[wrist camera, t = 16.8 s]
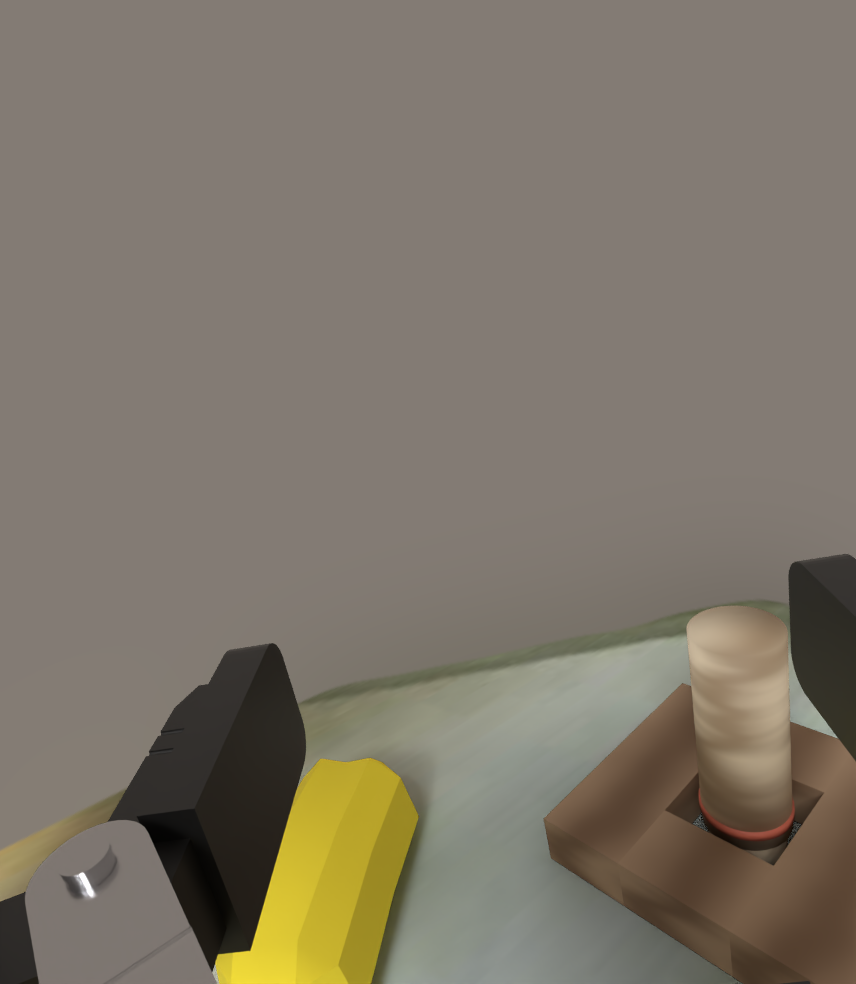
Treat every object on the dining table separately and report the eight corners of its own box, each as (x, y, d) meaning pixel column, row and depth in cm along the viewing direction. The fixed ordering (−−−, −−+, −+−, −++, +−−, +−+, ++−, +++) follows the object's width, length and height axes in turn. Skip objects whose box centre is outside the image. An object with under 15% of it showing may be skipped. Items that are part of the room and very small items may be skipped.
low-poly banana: (433, 800, 49) (328, 800, 51) (412, 719, 46) (304, 722, 49) (352, 1102, 32) (203, 1084, 34) (315, 999, 30) (158, 986, 32)
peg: (686, 850, 41) (666, 638, 36) (727, 799, 44) (714, 596, 39) (771, 897, 37) (761, 668, 33) (810, 837, 40) (806, 619, 35)
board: (551, 858, 42) (543, 818, 41) (685, 718, 51) (682, 683, 50) (847, 1052, 30) (847, 1003, 29) (958, 826, 39) (961, 782, 38)
